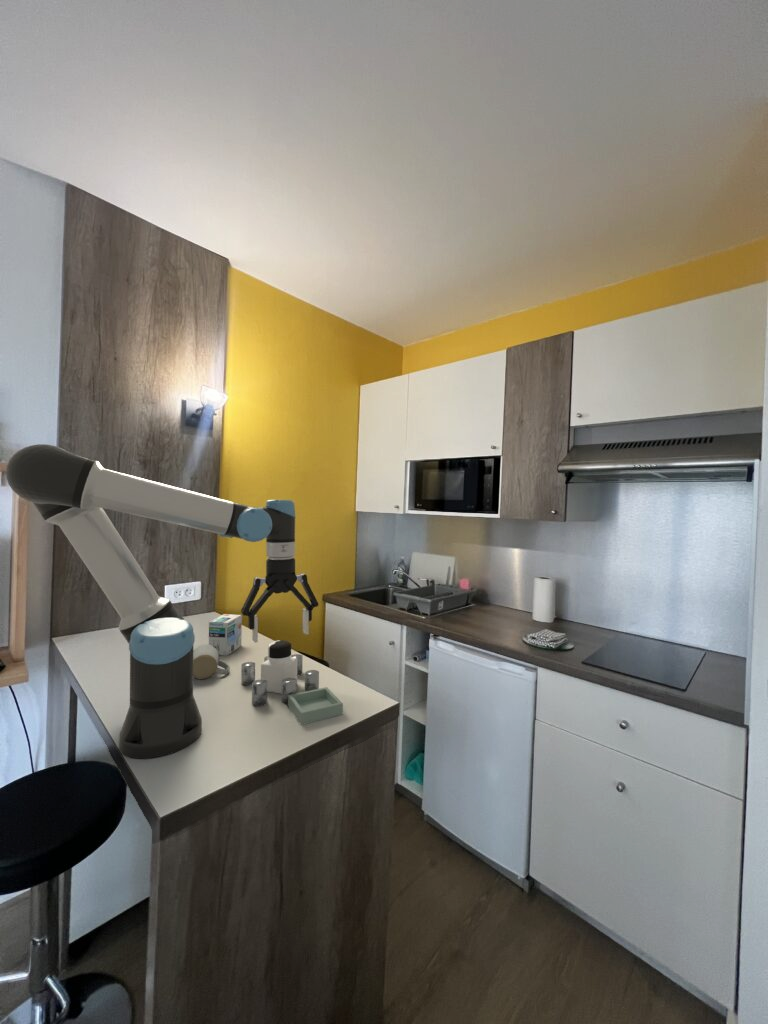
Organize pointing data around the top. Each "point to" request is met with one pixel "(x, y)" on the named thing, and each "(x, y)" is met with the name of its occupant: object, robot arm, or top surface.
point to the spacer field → (287, 684)
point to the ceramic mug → (207, 662)
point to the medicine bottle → (278, 665)
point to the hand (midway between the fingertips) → (281, 637)
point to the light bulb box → (226, 633)
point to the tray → (315, 705)
